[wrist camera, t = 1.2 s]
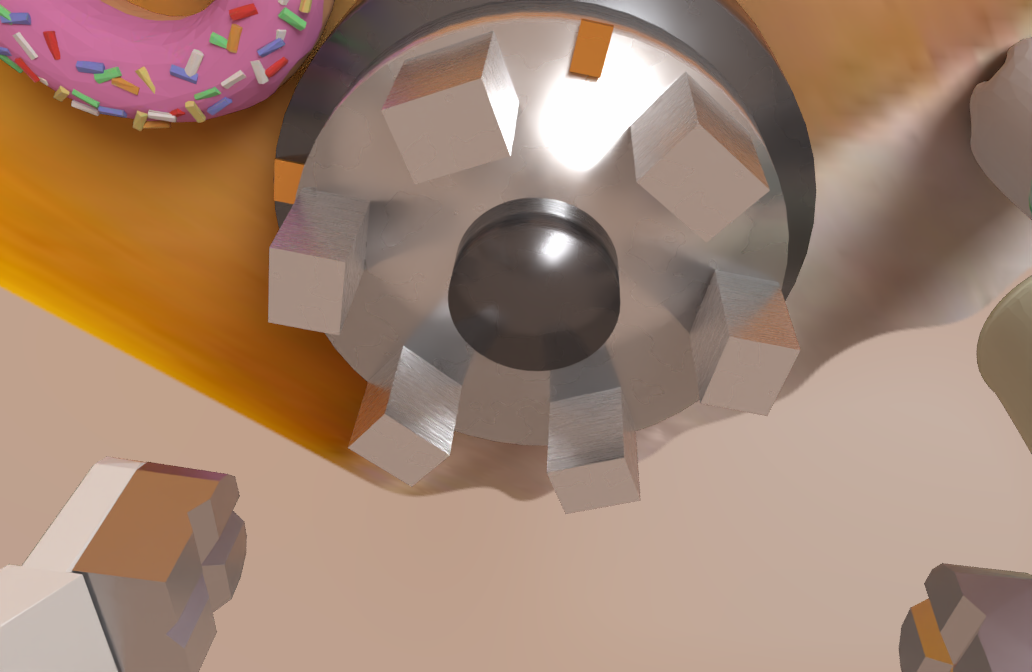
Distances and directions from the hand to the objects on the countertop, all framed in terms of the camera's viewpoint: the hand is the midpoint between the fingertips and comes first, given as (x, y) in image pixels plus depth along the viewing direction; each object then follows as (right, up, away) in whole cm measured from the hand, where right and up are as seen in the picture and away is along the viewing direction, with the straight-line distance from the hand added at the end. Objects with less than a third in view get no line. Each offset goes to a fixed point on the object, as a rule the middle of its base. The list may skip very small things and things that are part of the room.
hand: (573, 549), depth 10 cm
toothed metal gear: (0, +7, +23) cm, 24 cm away
